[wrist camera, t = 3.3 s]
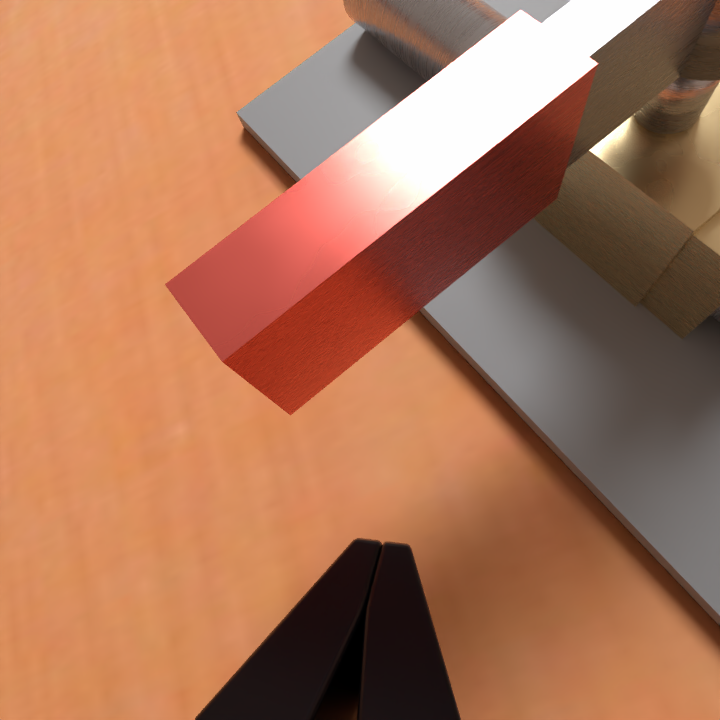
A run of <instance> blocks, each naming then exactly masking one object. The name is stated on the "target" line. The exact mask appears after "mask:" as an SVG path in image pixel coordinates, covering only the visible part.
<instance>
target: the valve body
mask: <svg viewBox="0 0 720 720" xmlns="http://www.w3.org/2000/svg"><path fill="white" fill-rule="evenodd" d="M343 1H344V6H345V10H346V12H347V14H348V15H349V17H350V18H351V19H352V20H353V21H355V22H356V23H357V24H358V25H359V26H361V27H362V28H363V29H364V30H365V31H367V32H368V33H369V34H370V35H372V36H373V37H374V38H375V39H376V40H378V41H379V42H380V43H381V44H382V45H384V46H385V47H386V48H387V49H389V50H390V51H391V52H392V53H393V54H395V55H396V56H397V57H398V58H399V59H401V60H402V61H403V62H404V63H406V64H407V65H408V66H409V67H410V68H412V69H413V70H414V71H415V72H416V73H418V74H419V75H420V76H421V77H422V78H424V79H425V80H426V81H427V82H428V81H429V80H430V79H432V78H433V77H434V76H436V75H437V74H438V73H440V72H441V71H442V70H443V69H445V68H446V67H447V66H449V65H450V64H451V63H452V62H454V61H455V60H456V59H458V58H459V57H460V56H462V55H463V54H464V53H465V52H467V51H468V50H469V49H471V48H472V47H473V46H474V45H476V44H477V43H478V42H480V41H481V40H482V39H484V38H485V37H486V36H487V35H489V34H490V33H491V32H493V31H494V30H495V29H497V28H498V27H499V26H500V25H502V24H503V23H504V22H506V21H507V20H508V18H507V17H505V16H504V15H503V14H501V13H500V12H498V11H497V10H495V9H494V8H493V7H491V6H490V5H488V4H487V3H486V2H484V1H483V0H343ZM533 219H535V220H536V221H537V222H538V223H539V224H540V225H541V226H543V227H544V228H545V229H546V230H547V231H548V232H550V233H551V234H552V235H553V236H554V237H555V238H556V239H558V240H559V241H560V242H561V243H562V244H563V245H565V246H566V247H567V248H568V249H569V250H570V251H571V252H573V253H574V254H575V255H576V256H577V257H578V258H580V259H581V260H582V261H583V262H584V263H585V264H586V265H588V266H589V267H590V268H591V269H592V270H593V271H595V272H596V273H597V274H598V275H599V276H600V277H601V278H603V279H604V280H605V281H606V282H607V283H608V284H610V285H611V286H612V287H613V288H614V289H615V290H616V291H618V292H619V293H620V294H621V295H622V296H623V297H625V298H626V299H627V300H628V301H629V302H630V303H631V304H633V305H634V306H635V307H636V306H637V305H638V304H639V303H641V304H642V305H643V306H644V307H646V308H647V309H648V310H649V311H650V312H651V313H652V314H654V315H655V316H656V317H657V318H658V319H659V320H661V321H662V322H663V323H664V324H665V325H666V326H668V327H669V328H670V329H671V330H672V331H673V332H675V333H676V334H677V335H678V336H679V337H680V338H682V339H683V338H684V337H685V336H686V335H688V334H689V333H690V332H691V331H692V330H693V329H695V328H696V327H697V326H698V325H699V324H700V323H702V322H703V321H704V320H705V319H706V318H707V317H708V316H710V315H711V316H712V317H714V318H715V319H716V320H717V321H718V322H720V80H714V81H699V80H691V79H686V78H681V77H679V78H678V79H677V80H676V81H674V82H673V83H672V84H671V85H669V86H668V87H667V88H666V89H665V90H663V91H662V92H661V93H660V94H658V95H657V96H656V97H655V98H653V99H652V100H651V101H650V102H648V103H647V104H646V105H645V106H644V107H642V108H641V109H640V110H639V111H637V112H636V113H635V114H634V115H632V116H631V117H630V118H629V119H627V120H626V121H625V122H624V123H623V124H621V125H620V126H619V127H618V128H616V129H615V130H614V131H613V132H611V133H610V134H609V135H608V136H606V137H605V138H604V139H603V140H601V141H600V142H599V143H598V144H597V145H595V146H594V147H593V148H592V149H590V150H589V151H588V152H587V153H585V154H584V155H583V156H582V157H580V158H579V159H578V160H577V161H576V162H574V163H573V164H572V165H571V166H569V167H568V168H567V169H566V171H565V174H564V178H563V181H562V184H561V187H560V191H559V194H558V197H557V199H556V200H555V201H553V202H552V203H551V204H550V205H549V206H547V207H546V208H545V209H544V210H542V211H541V212H540V213H539V214H537V215H536V216H535V217H534V218H533Z"/></svg>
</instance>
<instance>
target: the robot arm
mask: <svg viewBox="0 0 720 720" xmlns="http://www.w3.org/2000/svg"><path fill="white" fill-rule="evenodd" d="M195 720H461V718H460V715H459V711H458V708H457V704H456V701H455V697H454V694H453V690H452V687H451V684H450V680H449V677H448V673H447V670H446V666H445V663H444V659H443V656H442V653H441V649H440V646H439V642H438V639H437V635H436V632H435V628H434V625H433V622H432V618H431V615H430V611H429V608H428V604H427V601H426V597H425V594H424V591H423V587H422V584H421V580H420V577H419V573H418V570H417V566H416V563H415V560H414V556H413V553H412V549H411V547H410V546H409V545H408V544H404V543H396V542H385V543H384V544H383V545H382V543H381V542H380V541H378V540H371V539H363V538H357V539H355V540H353V541H352V542H351V544H350V545H349V546H348V547H347V548H346V549H345V550H344V551H343V553H342V554H341V555H340V556H339V557H338V558H337V559H336V560H335V562H334V563H333V564H332V565H331V566H330V567H329V568H328V569H327V571H326V572H325V573H324V574H323V575H322V576H321V577H320V578H319V580H318V581H317V582H316V583H315V584H314V585H313V586H312V587H311V589H310V590H309V591H308V592H307V593H306V594H305V595H304V596H303V598H302V599H301V600H300V601H299V602H298V603H297V604H296V605H295V607H294V608H293V609H292V610H291V611H290V612H289V613H288V614H287V615H286V617H285V618H284V619H283V620H282V621H281V622H280V623H279V624H278V626H277V627H276V628H275V629H274V630H273V631H272V632H271V633H270V635H269V636H268V637H267V638H266V639H265V640H264V641H263V642H262V644H261V645H260V646H259V647H258V648H257V649H256V650H255V651H254V653H253V654H252V655H251V656H250V657H249V658H248V659H247V660H246V662H245V663H244V664H243V665H242V666H241V667H240V668H239V669H238V671H237V672H236V673H235V674H234V675H233V676H232V677H231V678H230V680H229V681H228V682H227V683H226V684H225V685H224V686H223V687H222V689H221V690H220V691H219V692H218V693H217V694H216V695H215V696H214V698H213V699H212V700H211V701H210V702H209V703H208V704H207V705H206V706H205V708H204V709H203V710H202V711H201V712H200V713H199V714H198V715H197V717H196V718H195Z"/></svg>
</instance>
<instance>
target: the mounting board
mask: <svg viewBox="0 0 720 720" xmlns="http://www.w3.org/2000/svg"><path fill="white" fill-rule="evenodd" d="M483 1H484V2H486V3H487V4H488V5H490V6H491V7H493V8H494V9H495V10H497V11H498V12H500V13H501V14H503V15H504V16H505V17H507V18H508V19H509V18H511V17H512V16H513V15H515V14H516V13H517V12H519V11H520V10H522V11H523V12H525V13H526V14H528V15H529V16H530V17H532V18H533V19H535V20H536V21H538V22H539V23H540V24H542V23H543V22H544V21H546V20H547V19H548V18H550V17H551V16H552V15H553V14H555V13H556V12H557V11H559V10H560V9H561V8H562V7H564V6H565V5H566V4H568V3H569V2H570V1H571V0H483ZM425 83H427V81H426V80H425V79H424V78H422V77H421V76H420V75H419V74H418V73H416V72H415V71H414V70H413V69H412V68H410V67H409V66H408V65H407V64H406V63H404V62H403V61H402V60H401V59H399V58H398V57H397V56H396V55H395V54H393V53H392V52H391V51H390V50H389V49H387V48H386V47H385V46H384V45H382V44H381V43H380V42H379V41H378V40H376V39H375V38H374V37H373V36H372V35H370V34H369V33H368V32H367V31H365V30H364V29H363V28H362V27H361V26H359V25H358V24H357V23H355V24H354V25H352V26H351V27H350V28H348V29H347V30H346V31H344V32H343V33H342V34H340V35H339V36H338V37H336V38H335V39H334V40H332V41H331V42H330V43H328V44H327V45H326V46H324V47H323V48H322V49H320V50H319V51H318V52H316V53H315V54H314V55H312V56H311V57H310V58H308V59H307V60H306V61H304V62H303V63H302V64H300V65H299V66H298V67H296V68H295V69H294V70H292V71H291V72H290V73H288V74H287V75H286V76H284V77H283V78H282V79H280V80H279V81H278V82H276V83H275V84H274V85H272V86H271V87H270V88H268V89H267V90H266V91H264V92H263V93H262V94H260V95H259V96H258V97H256V98H255V99H254V100H252V101H251V102H250V103H248V104H247V105H246V106H244V107H243V108H242V109H240V110H239V111H238V112H236V113H237V115H238V117H239V119H240V121H241V123H242V125H243V127H244V128H245V129H246V130H247V131H248V132H249V133H250V134H251V135H252V136H253V137H254V138H255V139H256V140H257V141H258V142H259V143H260V144H261V145H262V147H263V148H264V149H265V150H266V151H267V152H268V153H269V154H270V155H271V156H272V157H273V158H274V159H275V160H276V161H277V162H278V163H279V164H280V165H281V166H282V167H283V169H284V170H285V171H286V172H287V173H288V174H289V175H290V176H291V177H292V178H293V179H294V180H295V181H296V182H298V181H300V180H301V179H302V178H304V177H305V176H306V175H307V174H309V173H310V172H311V171H313V170H314V169H315V168H316V167H318V166H319V165H320V164H322V163H323V162H324V161H326V160H327V159H328V158H329V157H331V156H332V155H333V154H335V153H336V152H337V151H338V150H340V149H341V148H342V147H344V146H345V145H346V144H348V143H349V142H350V141H351V140H353V139H354V138H355V137H357V136H358V135H359V134H361V133H362V132H363V131H364V130H366V129H367V128H368V127H370V126H371V125H372V124H373V123H375V122H376V121H377V120H379V119H380V118H381V117H383V116H384V115H385V114H386V113H388V112H389V111H390V110H392V109H393V108H394V107H395V106H397V105H398V104H399V103H401V102H402V101H403V100H405V99H406V98H407V97H408V96H410V95H411V94H412V93H414V92H415V91H416V90H418V89H419V88H420V87H421V86H423V85H424V84H425ZM419 311H420V312H421V313H422V314H423V315H424V316H425V317H426V319H427V320H428V321H429V322H430V323H431V324H432V325H433V326H434V327H435V328H436V329H437V330H438V331H439V332H440V333H441V334H442V335H443V336H444V337H445V338H446V340H447V341H448V342H449V343H450V344H451V345H452V346H453V347H454V348H455V349H456V350H457V351H458V352H459V353H460V354H461V355H462V356H463V357H464V358H465V359H466V360H467V362H468V363H469V364H470V365H471V366H472V367H473V368H474V369H475V370H476V371H477V372H478V373H479V374H480V375H481V376H482V377H483V378H484V379H485V380H486V381H487V383H488V384H489V385H490V386H491V387H492V388H493V389H494V390H495V391H496V392H497V393H498V394H499V395H500V396H501V397H502V398H503V399H504V400H505V401H506V402H507V403H508V405H509V406H510V407H511V408H512V409H513V410H514V411H515V412H516V413H517V414H518V415H519V416H520V417H521V418H522V419H523V420H524V421H525V422H526V423H527V424H528V426H529V427H530V428H531V429H532V430H533V431H534V432H535V433H536V434H537V435H538V436H539V437H540V438H541V439H542V440H543V441H544V442H545V443H546V444H547V445H548V446H549V448H550V449H551V450H552V451H553V452H554V453H555V454H556V455H557V456H558V457H559V458H560V459H561V460H562V461H563V462H564V463H565V464H566V465H567V466H568V467H569V469H570V470H571V471H572V472H573V473H574V474H575V475H576V476H577V477H578V478H579V479H580V480H581V481H582V482H583V483H584V484H585V485H586V486H587V487H588V488H589V489H590V491H591V492H592V493H593V494H594V495H595V496H596V497H597V498H598V499H599V500H600V501H601V502H602V503H603V504H604V505H605V506H606V507H607V508H608V509H609V510H610V512H611V513H612V514H613V515H614V516H615V517H616V518H617V519H618V520H619V521H620V522H621V523H622V524H623V525H624V526H625V527H626V528H627V529H628V530H629V531H630V532H631V534H632V535H633V536H634V537H635V538H636V539H637V540H638V541H639V542H640V543H641V544H642V545H643V546H644V547H645V548H646V549H647V550H648V551H649V552H650V553H651V555H652V556H653V557H654V558H655V559H656V560H657V561H658V562H659V563H660V564H661V565H662V566H663V567H664V568H665V569H666V570H667V571H668V572H669V573H670V574H671V575H672V577H673V578H674V579H675V580H676V581H677V582H678V583H679V584H680V585H681V586H682V587H683V588H684V589H685V590H686V591H687V592H688V593H689V594H690V595H691V596H692V598H693V599H694V600H695V601H696V602H697V603H698V604H699V605H700V606H701V607H702V608H703V609H704V610H705V611H706V612H707V613H708V614H709V615H710V616H711V617H712V619H713V620H714V621H715V622H716V623H717V624H718V625H719V626H720V322H718V321H717V320H716V319H715V318H714V317H712V316H711V315H710V316H708V317H707V318H706V319H705V320H704V321H703V322H702V323H700V324H699V325H698V326H697V327H696V328H695V329H693V330H692V331H691V332H690V333H689V334H688V335H686V336H685V337H684V338H683V339H682V338H680V337H679V336H678V335H677V334H676V333H675V332H673V331H672V330H671V329H670V328H669V327H668V326H666V325H665V324H664V323H663V322H662V321H661V320H659V319H658V318H657V317H656V316H655V315H654V314H652V313H651V312H650V311H649V310H648V309H647V308H646V307H644V306H643V305H642V304H641V303H639V304H638V305H637V306H636V307H635V306H634V305H633V304H631V303H630V302H629V301H628V300H627V299H626V298H625V297H623V296H622V295H621V294H620V293H619V292H618V291H616V290H615V289H614V288H613V287H612V286H611V285H610V284H608V283H607V282H606V281H605V280H604V279H603V278H601V277H600V276H599V275H598V274H597V273H596V272H595V271H593V270H592V269H591V268H590V267H589V266H588V265H586V264H585V263H584V262H583V261H582V260H581V259H580V258H578V257H577V256H576V255H575V254H574V253H573V252H571V251H570V250H569V249H568V248H567V247H566V246H565V245H563V244H562V243H561V242H560V241H559V240H558V239H556V238H555V237H554V236H553V235H552V234H551V233H550V232H548V231H547V230H546V229H545V228H544V227H543V226H541V225H540V224H539V223H538V222H537V221H536V220H535V219H531V220H530V221H529V222H528V223H526V224H525V225H524V226H523V227H521V228H520V229H519V230H518V231H517V232H515V233H514V234H513V235H512V236H510V237H509V238H508V239H507V240H505V241H504V242H503V243H502V244H501V245H499V246H498V247H497V248H496V249H494V250H493V251H492V252H491V253H489V254H488V255H487V256H486V257H485V258H483V259H482V260H481V261H480V262H478V263H477V264H476V265H475V266H473V267H472V268H471V269H470V270H469V271H467V272H466V273H465V274H464V275H462V276H461V277H460V278H459V279H457V280H456V281H455V282H454V283H453V284H451V285H450V286H449V287H448V288H446V289H445V290H444V291H443V292H442V293H440V294H439V295H438V296H437V297H435V298H434V299H433V300H432V301H430V302H429V303H428V304H427V305H426V306H424V307H423V308H422V309H421V310H419Z"/></svg>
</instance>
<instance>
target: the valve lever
mask: <svg viewBox="0 0 720 720" xmlns="http://www.w3.org/2000/svg"><path fill="white" fill-rule="evenodd" d="M679 77H681V78H686V79H691V80H699V81H714V80H720V0H571V1H570V2H569V3H568V4H566V5H565V6H564V7H562V8H561V9H560V10H559V11H557V12H556V13H555V14H553V15H552V16H551V17H550V18H548V19H547V20H546V21H544V22H543V23H542V24H540V23H539V22H538V21H536V20H535V19H533V18H532V17H530V16H529V15H528V14H526V13H525V12H523V11H522V10H520V11H519V12H517V13H516V14H515V15H513V16H512V17H511V18H509V19H508V20H507V21H506V22H504V23H503V24H502V25H500V26H499V27H498V28H497V29H495V30H494V31H493V32H491V33H490V34H489V35H487V36H486V37H485V38H484V39H482V40H481V41H480V42H478V43H477V44H476V45H474V46H473V47H472V48H471V49H469V50H468V51H467V52H465V53H464V54H463V55H462V56H460V57H459V58H458V59H456V60H455V61H454V62H452V63H451V64H450V65H449V66H447V67H446V68H445V69H443V70H442V71H441V72H440V73H438V74H437V75H436V76H434V77H433V78H432V79H430V80H429V81H428V82H427V83H425V84H424V85H423V86H421V87H420V88H419V89H418V90H416V91H415V92H414V93H412V94H411V95H410V96H408V97H407V98H406V99H405V100H403V101H402V102H401V103H399V104H398V105H397V106H395V107H394V108H393V109H392V110H390V111H389V112H388V113H386V114H385V115H384V116H383V117H381V118H380V119H379V120H377V121H376V122H375V123H373V124H372V125H371V126H370V127H368V128H367V129H366V130H364V131H363V132H362V133H361V134H359V135H358V136H357V137H355V138H354V139H353V140H351V141H350V142H349V143H348V144H346V145H345V146H344V147H342V148H341V149H340V150H338V151H337V152H336V153H335V154H333V155H332V156H331V157H329V158H328V159H327V160H326V161H324V162H323V163H322V164H320V165H319V166H318V167H316V168H315V169H314V170H313V171H311V172H310V173H309V174H307V175H306V176H305V177H304V178H302V179H301V180H300V181H298V182H297V183H296V184H294V185H293V186H292V187H291V188H289V189H288V190H287V191H285V192H284V193H283V194H282V195H280V196H279V197H278V198H276V199H275V200H274V201H272V202H271V203H270V204H269V205H267V206H266V207H265V208H263V209H262V210H261V211H259V212H258V213H257V214H256V215H254V216H253V217H252V218H250V219H249V220H248V221H247V222H245V223H244V224H243V225H241V226H240V227H239V228H237V229H236V230H235V231H234V232H232V233H231V234H230V235H228V236H227V237H226V238H225V239H223V240H222V241H221V242H219V243H218V244H217V245H215V246H214V247H213V248H212V249H210V250H209V251H208V252H206V253H205V254H204V255H202V256H201V257H200V258H199V259H197V260H196V261H195V262H193V263H192V264H191V265H190V266H188V267H187V268H186V269H184V270H183V271H182V272H180V273H179V274H178V275H177V276H175V277H174V278H173V279H171V280H170V281H169V282H168V283H166V284H165V285H166V287H167V288H168V289H169V291H170V292H171V293H172V295H173V296H174V297H175V299H176V300H177V301H178V303H179V304H180V306H181V307H182V308H183V310H184V311H185V312H186V314H187V315H188V316H189V318H190V319H191V320H192V322H193V323H194V324H195V326H196V327H197V328H198V330H199V331H200V333H201V334H202V335H203V337H204V338H205V339H206V341H207V342H208V343H209V345H210V346H211V347H212V349H213V350H214V351H215V353H216V354H217V355H218V357H219V358H220V360H221V361H222V362H223V363H224V364H226V365H227V366H228V367H229V368H231V369H232V370H233V371H235V372H236V373H237V374H238V375H240V376H241V377H242V378H244V379H245V380H246V381H247V382H249V383H250V384H251V385H252V386H254V387H255V388H256V389H258V390H259V391H260V392H261V393H263V394H264V395H265V396H267V397H268V398H269V399H270V400H272V401H273V402H274V403H275V404H277V405H278V406H279V407H281V408H282V409H283V410H284V411H286V412H287V413H288V414H290V415H291V414H293V413H294V412H295V411H296V410H298V409H299V408H300V407H301V406H303V405H304V404H305V403H306V402H307V401H309V400H310V399H311V398H312V397H314V396H315V395H316V394H317V393H319V392H320V391H321V390H322V389H323V388H325V387H326V386H327V385H328V384H330V383H331V382H332V381H333V380H335V379H336V378H337V377H338V376H339V375H341V374H342V373H343V372H344V371H346V370H347V369H348V368H349V367H351V366H352V365H353V364H354V363H355V362H357V361H358V360H359V359H360V358H362V357H363V356H364V355H365V354H366V353H368V352H369V351H370V350H371V349H373V348H374V347H375V346H376V345H378V344H379V343H380V342H381V341H382V340H384V339H385V338H386V337H387V336H389V335H390V334H391V333H392V332H394V331H395V330H396V329H397V328H398V327H400V326H401V325H402V324H403V323H405V322H406V321H407V320H408V319H410V318H411V317H412V316H413V315H414V314H416V313H417V312H418V311H419V310H421V309H422V308H423V307H424V306H426V305H427V304H428V303H429V302H430V301H432V300H433V299H434V298H435V297H437V296H438V295H439V294H440V293H442V292H443V291H444V290H445V289H446V288H448V287H449V286H450V285H451V284H453V283H454V282H455V281H456V280H457V279H459V278H460V277H461V276H462V275H464V274H465V273H466V272H467V271H469V270H470V269H471V268H472V267H473V266H475V265H476V264H477V263H478V262H480V261H481V260H482V259H483V258H485V257H486V256H487V255H488V254H489V253H491V252H492V251H493V250H494V249H496V248H497V247H498V246H499V245H501V244H502V243H503V242H504V241H505V240H507V239H508V238H509V237H510V236H512V235H513V234H514V233H515V232H517V231H518V230H519V229H520V228H521V227H523V226H524V225H525V224H526V223H528V222H529V221H530V220H531V219H533V218H534V217H535V216H536V215H537V214H539V213H540V212H541V211H542V210H544V209H545V208H546V207H547V206H549V205H550V204H551V203H552V202H553V201H555V200H556V199H557V197H558V194H559V191H560V187H561V184H562V181H563V178H564V174H565V171H566V169H567V168H568V167H569V166H571V165H572V164H573V163H574V162H576V161H577V160H578V159H579V158H580V157H582V156H583V155H584V154H585V153H587V152H588V151H589V150H590V149H592V148H593V147H594V146H595V145H597V144H598V143H599V142H600V141H601V140H603V139H604V138H605V137H606V136H608V135H609V134H610V133H611V132H613V131H614V130H615V129H616V128H618V127H619V126H620V125H621V124H623V123H624V122H625V121H626V120H627V119H629V118H630V117H631V116H632V115H634V114H635V113H636V112H637V111H639V110H640V109H641V108H642V107H644V106H645V105H646V104H647V103H648V102H650V101H651V100H652V99H653V98H655V97H656V96H657V95H658V94H660V93H661V92H662V91H663V90H665V89H666V88H667V87H668V86H669V85H671V84H672V83H673V82H674V81H676V80H677V79H678V78H679Z"/></svg>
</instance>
